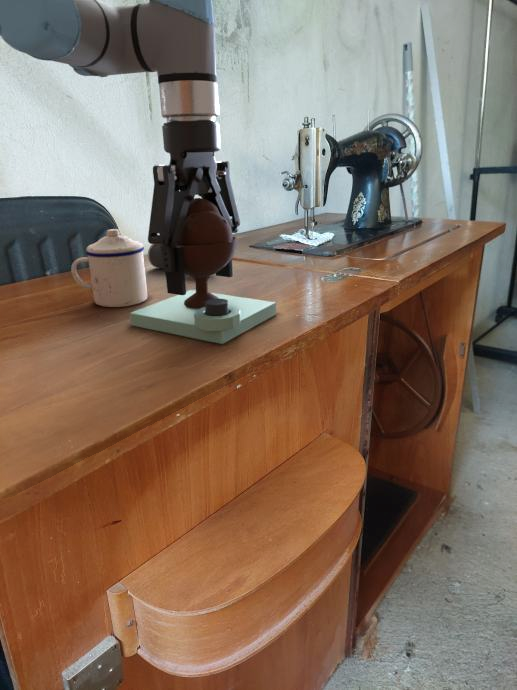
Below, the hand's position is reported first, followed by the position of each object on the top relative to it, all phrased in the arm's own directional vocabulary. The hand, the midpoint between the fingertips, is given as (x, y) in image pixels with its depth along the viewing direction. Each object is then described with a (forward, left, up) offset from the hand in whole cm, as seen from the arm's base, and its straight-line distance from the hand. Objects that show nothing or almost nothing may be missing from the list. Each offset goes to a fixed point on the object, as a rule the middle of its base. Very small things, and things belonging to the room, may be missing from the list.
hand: (201, 284), depth 76 cm
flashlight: (-22, +21, -5) cm, 31 cm away
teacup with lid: (-19, -1, -5) cm, 19 cm away
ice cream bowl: (0, 0, -3) cm, 3 cm away
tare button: (+7, -7, -2) cm, 10 cm away
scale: (+1, -2, -5) cm, 5 cm away
